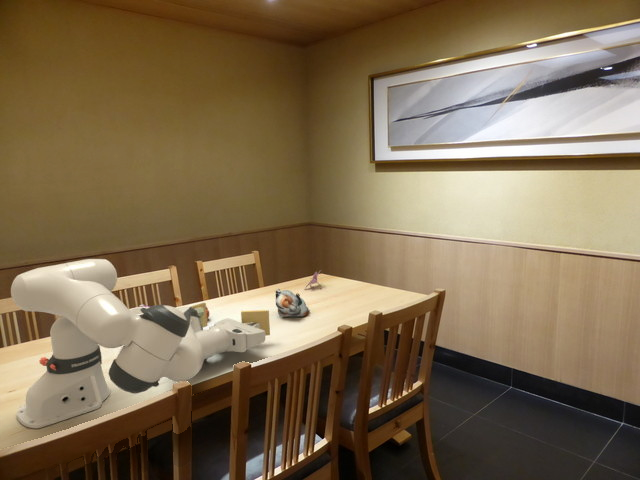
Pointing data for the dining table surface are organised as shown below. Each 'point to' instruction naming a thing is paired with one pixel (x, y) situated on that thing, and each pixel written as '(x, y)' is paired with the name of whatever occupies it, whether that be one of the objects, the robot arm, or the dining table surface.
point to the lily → (314, 279)
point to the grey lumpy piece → (290, 304)
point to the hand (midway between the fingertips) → (256, 324)
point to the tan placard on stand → (257, 319)
